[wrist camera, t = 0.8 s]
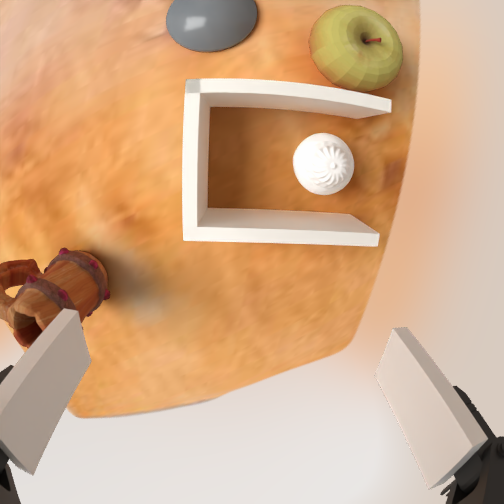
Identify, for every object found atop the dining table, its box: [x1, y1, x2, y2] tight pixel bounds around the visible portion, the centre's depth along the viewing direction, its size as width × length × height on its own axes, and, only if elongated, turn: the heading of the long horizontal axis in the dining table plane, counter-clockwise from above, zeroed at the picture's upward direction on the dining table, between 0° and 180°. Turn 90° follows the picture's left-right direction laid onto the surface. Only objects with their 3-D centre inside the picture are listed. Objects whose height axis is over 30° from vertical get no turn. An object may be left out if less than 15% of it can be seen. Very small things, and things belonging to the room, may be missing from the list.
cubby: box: [182, 79, 391, 247], centre depth 26 cm, size 13×17×8 cm
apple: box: [309, 5, 403, 92], centre depth 22 cm, size 10×10×8 cm
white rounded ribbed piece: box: [293, 133, 354, 195], centre depth 27 cm, size 6×6×7 cm
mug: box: [0, 248, 110, 349], centre depth 26 cm, size 15×8×15 cm, turn 68°
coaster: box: [166, 0, 257, 52], centre depth 23 cm, size 10×10×1 cm
